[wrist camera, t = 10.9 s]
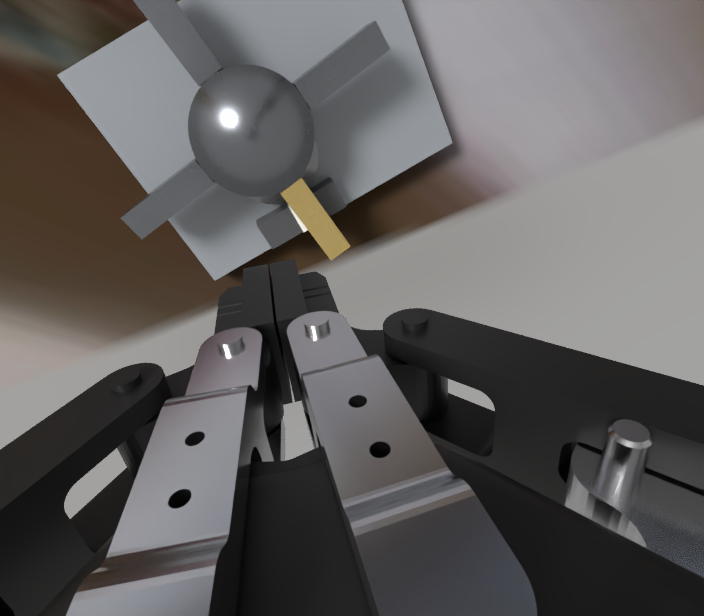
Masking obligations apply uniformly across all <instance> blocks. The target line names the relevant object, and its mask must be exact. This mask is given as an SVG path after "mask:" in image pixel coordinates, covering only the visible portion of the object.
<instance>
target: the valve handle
mask: <svg viewBox="0 0 704 616" xmlns="http://www.w3.org/2000/svg"><path fill="white" fill-rule="evenodd" d="M133 1H134V2H135V3H136V5H137V6H138V7H139V9H140V10H141V11H142V12H143V14H144V15H145V16H146V18H147V19H148V20H149V22H150V23H151V24H152V26H153V27H154V28H155V30H156V31H157V32H158V34H159V35H160V36H161V37H162V39H163V40H164V41H165V43H166V44H167V45H168V47H169V48H170V49H171V51H172V52H173V53H174V55H175V56H176V57H177V58H178V60H179V61H180V62H181V64H182V65H183V66H184V68H185V69H186V70H187V72H188V73H189V74H190V76H191V77H192V78H193V80H194V81H195V82H196V83H197V85H198V86H201V87H200V88H199V90H198V91H197V93H196V95H195V97H194V99H193V101H192V104H191V107H190V111H189V117H188V134H189V141H190V144H191V148H192V151H193V153H194V155H195V158H194V159H193V160H191V161H190V162H189V163H188V164H186V165H185V166H184V167H182V168H181V169H180V170H179V171H177V172H176V173H175V174H173V175H172V176H171V177H169V178H168V179H167V180H166V181H164V182H163V183H162V184H160V185H159V186H158V187H157V188H155V189H154V190H153V191H151V192H150V193H149V194H148V195H146V196H145V197H144V198H142V199H141V200H140V201H139V202H137V203H136V204H135V205H133V206H132V207H131V208H130V209H128V210H127V211H126V213H125V214H124V215H123V216H122V217H121V219H122V220H123V221H124V222H125V223H126V224H127V225H128V226H129V227H130V228H131V229H132V230H133V231H134V232H135V233H136V234H137V235H138V236H139V237H140V238H141V239H143V238H144V237H146V236H147V235H148V234H150V233H151V232H152V231H153V230H155V229H156V228H157V227H159V226H160V225H161V224H163V223H164V222H165V221H166V220H168V219H169V218H170V217H172V216H173V215H174V214H176V213H177V212H178V211H180V210H181V209H182V208H183V207H185V206H186V205H187V204H189V203H190V202H191V201H193V200H194V199H195V198H197V197H198V196H199V195H200V194H202V193H203V192H204V191H206V190H207V189H208V188H210V187H211V186H212V185H214V184H215V182H216V183H217V184H218V185H220V186H221V187H223V188H225V189H227V190H229V191H231V192H233V193H236V194H239V195H243V196H248V197H249V198H251V199H253V200H255V201H258V202H261V203H265V204H282V203H286V202H287V203H288V204H289V206H290V207H291V208H292V210H293V211H294V212H295V214H296V215H297V216H298V218H299V219H300V220H301V222H302V223H303V224H304V225H305V227H306V228H307V229H308V231H309V232H310V233H311V235H312V236H313V237H314V239H315V240H316V241H317V243H318V244H319V245H320V247H321V248H322V249H323V250H324V252H325V253H326V254H327V256H328V257H329V258H330V260H333V259H334V258H335V257H337V256H338V255H340V254H341V253H342V252H344V251H345V250H346V249H348V248H349V247H351V246H350V245H349V243H348V242H347V240H346V239H345V237H344V236H343V235H342V233H341V232H340V230H339V229H338V228H337V226H336V225H335V223H334V222H333V221H332V219H331V218H330V216H329V215H328V214H327V212H326V211H325V210H324V208H323V207H322V205H321V204H320V203H319V201H318V200H317V198H316V197H315V196H314V194H313V193H312V191H311V190H310V189H309V186H310V184H311V183H312V181H313V179H314V177H315V175H316V172H317V167H318V149H317V144H316V141H315V136H314V125H313V119H312V116H311V112H310V110H312V109H313V108H314V107H315V106H317V105H318V104H319V103H321V102H322V101H323V100H325V99H326V98H327V97H329V96H330V95H331V94H332V93H334V92H335V91H336V90H338V89H339V88H340V87H342V86H343V85H344V84H346V83H347V82H348V81H349V80H351V79H352V78H353V77H355V76H356V75H357V74H359V73H360V72H361V71H363V70H364V69H365V68H366V67H368V66H369V65H370V64H372V63H373V62H374V61H376V60H377V59H378V58H380V57H381V56H382V55H383V54H385V53H386V52H387V51H389V50H390V47H389V45H388V43H387V41H386V39H385V38H384V36H383V34H382V32H381V30H380V28H379V26H378V24H377V22H376V20H375V21H373V22H371V23H369V24H367V25H365V26H364V27H363V28H362V29H360V30H359V31H358V32H356V33H355V34H354V35H353V36H351V37H350V38H349V39H347V40H346V41H345V42H344V43H342V44H341V45H340V46H338V47H337V48H336V49H335V50H333V51H332V52H331V53H329V54H328V55H327V56H326V57H324V58H323V59H322V60H320V61H319V62H318V63H316V64H315V65H314V66H313V67H311V68H310V69H309V70H307V71H306V72H305V73H304V74H302V75H301V76H300V77H298V78H297V79H296V80H295V81H293V82H292V83H291V82H290V81H288V80H287V79H286V78H285V77H283V76H282V75H280V74H278V73H277V72H275V71H272V70H270V69H268V68H265V67H261V66H256V65H236V66H231V67H228V68H225V69H224V68H223V67H222V66H221V64H220V63H219V61H218V60H217V59H216V57H215V56H214V54H213V53H212V52H211V50H210V49H209V48H208V46H207V45H206V43H205V42H204V41H203V39H202V38H201V36H200V35H199V34H198V32H197V31H196V29H195V28H194V27H193V25H192V24H191V22H190V21H189V20H188V18H187V17H186V15H185V14H184V13H183V11H182V10H181V8H180V7H179V6H178V4H177V3H176V1H175V0H133ZM222 69H223V70H222ZM309 109H310V110H309Z"/></svg>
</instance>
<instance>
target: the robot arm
mask: <svg viewBox="0 0 704 616" xmlns="http://www.w3.org/2000/svg"><path fill="white" fill-rule="evenodd" d="M270 266H271V273H270V268H269V265H268V264H265V265H260V266H255V267H249V268H244V269H243V285H242V286H237V287H232V288H228V289H227V290H226V291H225V292H224V293H223V294H222V295H221V296H220V297H219V304H218V311H217V319H216V326H215V334H214V335H213V336H211V337H210V338H208V339H207V340H206V341H205V342H204V343H203V344H202V345H201V347H200V349H199V353H198V356H197V359H196V362H195V365H193V366H191V367H189V368H187V369H184V370H182V371H179V372H177V373H175V374H172V375H169V376H167V377H165V374H164V372H163V369H162V368H161V367H160V366H159V365H156V364H152V363H139V364H134V365H130V366H127V367H124V368H121V369H119V370H117V371H115V372H113V373H111V374H109V375H108V376H107V377H105V378H103V379H102V380H100V381H99V382H97V383H96V384H95V385H93V386H92V387H90V388H89V389H87V390H86V391H85V392H83V393H82V394H80V395H79V396H77V397H76V398H74V399H73V400H72V401H70V402H69V403H67V404H66V405H65V406H63V407H61V408H60V409H59V410H57V411H56V412H54V413H53V414H51V415H50V416H48V417H47V418H45V419H44V420H43V421H41V422H40V423H38V424H37V425H36V426H34V427H32V428H31V429H30V430H28V431H27V432H25V433H24V434H22V435H21V436H19V437H18V438H17V439H15V440H14V441H12V442H11V443H9V444H8V445H6V446H5V447H4V448H2V449H1V450H0V616H704V386H703V385H699V384H696V383H692V382H689V381H685V380H681V379H678V378H674V377H670V376H667V375H663V374H660V373H656V372H652V371H649V370H645V369H642V368H638V367H634V366H631V365H627V364H623V363H620V362H616V361H613V360H609V359H606V358H601V357H598V356H595V355H591V354H587V353H584V352H580V351H577V350H573V349H569V348H566V347H562V346H558V345H555V344H551V343H548V342H544V341H541V340H537V339H533V338H529V337H526V336H523V335H519V334H515V333H512V332H508V331H504V330H501V329H497V328H494V327H490V326H487V325H483V324H479V323H476V322H472V321H468V320H465V319H461V318H458V317H454V316H450V315H447V314H443V313H440V312H436V311H432V310H428V309H421V308H420V309H419V308H414V309H405V310H401V311H398V312H396V313H393V314H392V315H390V316H389V317H387V318H386V320H385V321H384V323H383V330H360V329H355V328H353V327H350V325H349V323H348V321H347V320H346V318H345V317H344V316H343V315H341V314H339V312H338V309H337V307H336V304H335V301H334V299H333V296H332V294H331V291H330V288H329V286H328V283H327V280H326V278H325V277H324V276H322V275H321V274H319V273H317V272H310V273H305V274H300V275H299V274H298V270H297V266H296V262H295V259H292V260H287V261H281V262H276V263H271V264H270ZM271 275H272V277H271ZM289 377H290V380H289ZM448 379H451V380H454V381H456V382H459V383H462V384H464V385H467V386H470V387H472V388H475V389H477V390H480V391H482V392H483V393H485V394H486V395H487V396H488V397H489V398H490V399H491V401H492V402H493V404H494V407H495V411H492V410H490V409H487V408H484V407H482V406H479V405H477V404H474V403H472V402H469V401H467V400H464V399H462V398H459V397H457V396H454V395H452V394H449V393H448ZM290 381H291V386H292V390H293V394H294V399H295V402H296V401H301V400H302V404H303V407H304V413H305V417H306V422H307V426H308V430H309V433H310V437H311V440H312V444H313V447H314V449H313V450H311V451H309V452H307V453H305V454H302V455H300V456H298V457H296V458H294V459H291V460H287V461H285V426H284V422H283V415H284V410H283V404H288V403H292V395H291V388H290ZM116 448H117V449H118V450H119V452H120V454H121V456H122V458H123V460H124V462H125V464H126V466H127V468H126V469H125V470H124V471H123V472H122V473H121V474H120V475H118V476H117V477H116V478H115V479H114V480H113V481H112V482H111V483H110V484H108V485H107V486H106V487H105V488H104V489H103V490H102V491H101V492H100V493H99V494H97V495H96V496H95V497H94V498H93V499H92V500H91V501H90V502H89V503H88V504H87V505H85V506H84V507H83V508H82V509H81V510H80V511H79V512H78V513H77V514H76V515H74V516H73V517H72V518H71V519H69V517H68V516H67V514H66V513H65V510H64V501H65V498H66V495H67V493H68V492H69V490H70V489H71V487H72V486H73V485H74V484H75V483H76V482H77V481H78V480H80V478H82V477H83V476H84V475H85V474H86V473H88V471H90V470H91V469H92V468H94V467H95V466H96V465H97V464H98V463H99V462H101V461H102V460H103V459H104V458H105V457H107V456H108V455H109V454H110V453H111V452H112V451H113V450H115V449H116Z"/></svg>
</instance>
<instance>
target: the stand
mask: <svg viewBox="0 0 704 616" xmlns="http://www.w3.org/2000/svg"><path fill="white" fill-rule="evenodd" d="M177 4H178V6H179V7H180V8H181V10H182V11H183V13H184V14H185V15H186V17H187V18H188V20H189V21H190V22H191V24H192V25H193V27H194V28H195V29H196V31H197V32H198V34H199V35H200V36H201V38H202V39H203V41H204V42H205V43H206V45H207V46H208V48H209V49H210V50H211V52H212V53H213V54H214V56H215V57H216V59H217V60H218V61H219V63H220V64H221V66H222V67H223V68H224V69H225V68H228V67H231V66H236V65H256V66H261V67H265V68H268V69H270V70H272V71H275V72H277V73H278V74H280V75H282V76H283V77H285V78H286V79H287V80H288V81H290V82H291V83H292V82H293V81H295V80H296V79H297V78H298V77H300V76H301V75H302V74H304V73H305V72H306V71H307V70H309V69H310V68H311V67H313V66H314V65H315V64H316V63H318V62H319V61H320V60H322V59H323V58H324V57H326V56H327V55H328V54H329V53H331V52H332V51H333V50H335V49H336V48H337V47H338V46H340V45H341V44H342V43H344V42H345V41H346V40H347V39H349V38H350V37H351V36H353V35H354V34H355V33H356V32H358V31H359V30H360V29H362V28H363V27H364V26H365V25H367V24H369V23H371V22H373V21H375V20H376V22H377V24H378V26H379V28H380V30H381V32H382V34H383V36H384V38H385V39H386V41H387V43H388V45H389V47H390V50H389V51H387V52H386V53H385V54H383V55H382V56H381V57H380V58H378V59H377V60H376V61H374V62H373V63H372V64H370V65H369V66H368V67H366V68H365V69H364V70H363V71H361V72H360V73H359V74H357V75H356V76H355V77H353V78H352V79H351V80H349V81H348V82H347V83H346V84H344V85H343V86H342V87H340V88H339V89H338V90H336V91H335V92H334V93H332V94H331V95H330V96H329V97H327V98H326V99H325V100H323V101H322V102H321V103H319V104H318V105H317V106H315V107H314V108H313V109H312V110H310V109H309V110H310V112H311V116H312V119H313V125H314V136H315V141H316V144H317V149H318V167H317V172H316V175H315V177H314V179H313V181H312V183H311V184H310V186H309V189H310V190H311V191H312V193H313V194H314V196H315V197H316V198H317V200H318V201H319V203H320V204H321V205H322V207H323V208H324V210H325V211H326V212H327V214H328V215H329V216H331V215H333V214H335V213H337V212H338V211H340V210H342V209H344V208H345V207H347V206H346V204H348V203H350V202H352V201H353V200H355V199H357V198H358V197H360V196H362V195H364V194H365V193H367V192H369V191H370V190H372V189H374V188H376V187H377V186H379V185H381V184H383V183H384V182H386V181H388V180H389V179H391V178H393V177H395V176H396V175H398V174H400V173H402V172H403V171H405V170H407V169H408V168H410V167H412V166H414V165H415V164H417V163H419V162H421V161H422V160H424V159H426V158H427V157H429V156H431V155H433V154H434V153H436V152H438V151H440V150H441V149H443V148H445V147H446V146H448V145H450V144H452V143H453V142H452V139H451V136H450V134H449V131H448V128H447V125H446V122H445V120H444V117H443V114H442V111H441V108H440V106H439V103H438V100H437V97H436V94H435V91H434V89H433V86H432V83H431V80H430V77H429V75H428V72H427V69H426V66H425V63H424V61H423V58H422V55H421V52H420V49H419V47H418V44H417V41H416V38H415V35H414V32H413V30H412V27H411V24H410V21H409V18H408V16H407V13H406V10H405V7H404V4H403V2H402V0H180V1H179V2H177ZM222 70H223V69H222ZM57 76H58V77H59V78H60V80H61V81H62V82H63V84H64V85H65V86H66V88H67V89H68V90H69V91H70V93H71V94H72V95H73V97H74V98H75V99H76V101H77V102H78V103H79V104H80V106H81V107H82V108H83V110H84V111H85V112H86V114H87V115H88V116H89V117H90V119H91V120H92V121H93V123H94V124H95V125H96V127H97V128H98V129H99V130H100V132H101V133H102V134H103V136H104V137H105V138H106V140H107V141H108V142H109V143H110V145H111V146H112V147H113V149H114V150H115V151H116V153H117V154H118V155H119V157H120V158H121V159H122V160H123V162H124V163H125V164H126V166H127V167H128V168H129V170H130V171H131V172H132V173H133V175H134V176H135V177H136V179H137V180H138V181H139V183H140V184H141V185H142V186H143V188H144V189H145V190H146V192H147V193H148V194H149V193H150V192H151V191H153V190H154V189H155V188H157V187H158V186H159V185H160V184H162V183H163V182H164V181H166V180H167V179H168V178H169V177H171V176H172V175H173V174H175V173H176V172H177V171H179V170H180V169H181V168H182V167H184V166H185V165H186V164H188V163H189V162H190V161H191V160H193V159H194V158H195V155H194V153H193V151H192V148H191V144H190V141H189V134H188V117H189V111H190V107H191V104H192V101H193V99H194V97H195V95H196V93H197V91H198V90H199V88H200V87H201V86H198V85H197V83H196V82H195V81H194V80H193V78H192V77H191V76H190V74H189V73H188V72H187V70H186V69H185V68H184V66H183V65H182V64H181V62H180V61H179V60H178V58H177V57H176V56H175V55H174V53H173V52H172V51H171V49H170V48H169V47H168V45H167V44H166V43H165V41H164V40H163V39H162V37H161V36H160V35H159V34H158V32H157V31H156V30H155V28H154V27H153V26H152V24H151V23H150V22H149V20H147V21H146V22H144V23H142V24H141V25H139V26H137V27H136V28H134V29H132V30H131V31H129V32H128V33H126V34H124V35H123V36H121V37H119V38H118V39H116V40H114V41H113V42H111V43H109V44H108V45H106V46H104V47H103V48H101V49H99V50H98V51H96V52H94V53H93V54H91V55H89V56H88V57H86V58H85V59H83V60H81V61H80V62H78V63H76V64H75V65H73V66H71V67H70V68H68V69H66V70H65V71H63V72H61V73H60V74H58V75H57ZM168 220H169V222H170V223H171V224H172V226H173V227H174V228H175V229H176V231H177V232H178V233H179V235H180V236H181V237H182V239H183V240H184V241H185V242H186V244H187V245H188V246H189V248H190V249H191V250H192V252H193V253H194V254H195V255H196V257H197V258H198V259H199V261H200V262H201V263H202V265H203V266H204V267H205V268H206V270H207V271H208V272H209V274H210V275H211V276H212V278H213V279H214V280H217V279H219V278H220V277H222V276H224V275H226V274H227V273H229V272H231V271H232V270H234V269H236V268H238V267H239V266H241V265H243V264H245V263H246V262H248V261H250V260H251V259H253V258H255V257H257V256H258V255H260V254H262V253H264V252H265V251H267V250H269V249H270V248H272V250H273V249H274V248H276V247H278V246H280V245H281V244H283V243H285V242H287V241H288V240H290V239H292V238H293V237H295V236H297V235H299V234H300V233H302V232H306V231H307V230H308V229H307V228H306V227H305V225H304V224H303V223H302V222H301V220H300V219H299V218H298V216H297V215H296V214H295V212H294V211H293V210H292V208H291V207H290V206H289V204H288V203H287V202H286V203H282V204H265V203H261V202H258V201H255V200H253V199H251V198H249V197H248V196H243V195H239V194H236V193H233V192H231V191H229V190H227V189H225V188H223V187H221V186H220V185H218V184H217V183H216V182H215V184H214V185H212V186H211V187H210V188H208V189H207V190H206V191H204V192H203V193H202V194H200V195H199V196H198V197H197V198H195V199H194V200H193V201H191V202H190V203H189V204H187V205H186V206H185V207H183V208H182V209H181V210H180V211H178V212H177V213H176V214H174V215H173V216H172V217H170V218H169V219H168Z"/></svg>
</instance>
